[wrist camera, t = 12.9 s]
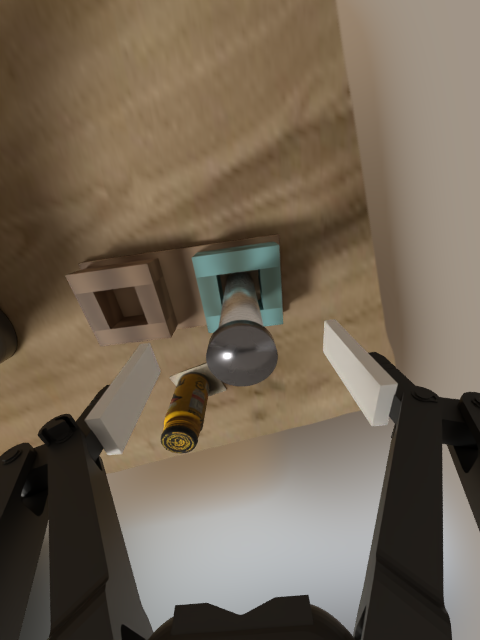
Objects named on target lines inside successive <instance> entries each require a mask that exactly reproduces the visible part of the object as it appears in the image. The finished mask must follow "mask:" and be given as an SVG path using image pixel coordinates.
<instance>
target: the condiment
mask: <svg viewBox="0 0 480 640" xmlns="http://www.w3.org/2000/svg"><path fill="white" fill-rule="evenodd" d="M202 373H205V374H202ZM169 378H170V379H171V380H172V382H173V383H174V384H175V385H176V386H177V387H176V389H175V392H174V394H173V398H172V400H171V403H170V406H169V409H168V412H167V414H166V416H165V420H164V431H163V433H162V436H161V443H162V445H163V446H164V448H166V450H169V451H171V452H174V453H187V452H190V451H192V450H193V449H194V448H195V447H196V444H197V442H198V437H199V433H200V431H201V430H202V428H203V423H204V417H205V411H206V405H207V399H208V396H211V395H214V394H216V393H220V392H223V391H226V389H225V387H224V385H223V383H222V382H221V381H220V380H219V379H217V378H216V377H215V376H214V375H213V374H212V373H211V371H210V370H209V368H208V365H207V363H206V364H203V365H201V366H198V367H195V368H192V369H190V370H187V371H184V372H181V373H179V374H176V375H174V376H171V377H169ZM209 389H210V390H209Z"/></svg>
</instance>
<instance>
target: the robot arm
mask: <svg viewBox="0 0 480 640" xmlns="http://www.w3.org/2000/svg"><path fill="white" fill-rule="evenodd" d="M16 347H17V338H16V333H15V331H14V328H13V326H12V324H11V323H10V321H9V320H8V318H7V317H6V316H5V315H4V313H3V312H2V311H1V310H0V363H2V362H4V361H5V360H7V359H8V358H10V357H11V356H12V355H13V354H14V352H15V350H16ZM323 352H324V354H325V355H326V357H327V358H328V360H329V361H330V363H331V364H332V366H333V368H334V369H335V371H336V372H337V374H338V375H339V377H340V378H341V380H342V381H343V383H344V384H345V386H346V387H347V389H348V391H349V392H350V394H351V395H352V397H353V398H354V400H355V401H356V403H357V404H358V406H359V407H360V409H361V410H362V412H363V413H364V415H365V417H366V418H367V420H368V421H369V423H370V424H371V426H381V425H387V424H388V420H389V417H390V418H391V419H392V420H393V422H394V423H395V425H394V429H393V432H392V436H391V438H392V440H391V445H390V450H389V456H388V461H387V466H386V472H385V477H384V482H383V487H382V492H381V498H380V503H379V509H378V514H377V519H376V525H375V529H374V535H373V540H372V545H371V551H370V556H369V561H368V566H367V571H366V577H365V582H364V587H363V591H362V596H361V600H360V604H359V609H358V614H357V619H356V624H355V629H354V634H353V636H352V635H351V634H350V632H349V631H348V630H347V629H346V628H345V627H344V626H343V625H342V624H341V623H340V622H339V621H338V620H337V619H335V618H334V617H333V616H332V615H330V614H329V613H328V612H326V611H324V610H323V609H321V608H319V607H317V606H314V605H311V604H310V601H309V596H308V595H300V596H287V597H276V598H273V599H271V600H269V601H268V602H266V603H264V604H262V605H260V606H258V607H257V608H255V609H253V610H251V611H249V612H247V613H245V614H243V615H238V614H235V613H233V612H230V611H227V610H225V609H222V608H219V607H217V606H214V605H211V604H209V603H200V604H188V605H176V606H175V611H174V617H172V618H170V619H169V620H167V621H166V622H165V623H163V624H162V625H161V626H160V627H159V628H158V629H157V630H156V631H155V632H154V633H153V630H152V627H151V624H150V622H149V619H148V617H147V615H146V613H145V611H144V609H143V607H142V605H141V601H140V598H139V594H138V590H137V587H136V583H135V579H134V576H133V572H132V568H131V565H130V561H129V557H128V554H127V550H126V546H125V542H124V539H123V535H122V532H121V528H120V524H119V520H118V517H117V513H116V510H115V506H114V502H113V498H112V495H111V491H110V487H109V484H108V480H107V476H106V473H105V469H104V465H103V462H102V459H101V457H100V456H99V455H100V453H101V452H102V450H103V449H104V450H105V451H106V453H107V454H108V455H114V454H122V452H123V450H124V448H125V446H126V444H127V442H128V440H129V438H130V436H131V433H132V431H133V429H134V427H135V425H136V423H137V421H138V419H139V417H140V414H141V412H142V410H143V408H144V406H145V404H146V402H147V400H148V398H149V395H150V393H151V391H152V389H153V387H154V385H155V383H156V381H157V379H158V376H159V374H160V372H161V371H160V368H159V365H158V363H157V360H156V358H155V355H154V352H153V350H152V347H151V344H150V343H146V344H140V345H139V347H138V348H137V349H136V351H135V352H134V353H133V355H132V356H131V357H130V359H129V360H128V361H127V363H126V364H125V366H124V367H123V368H122V370H121V371H120V372H119V374H118V375H117V376H116V378H115V379H114V381H113V382H112V383H111V385H106V386H105V387H104V388H103V389H102V390H100V391H99V392H98V394H97V395H96V396H95V397H94V400H92V401H91V403H90V404H89V406H87V408H86V409H85V410H84V412H83V413H82V414H81V416H80V417H79V418H78V419H77V421H76V422H75V420H74V419H73V417H72V416H71V415H70V414H63V415H60V416H57V417H55V418H53V419H52V420H50V421H49V422H47V423H46V424H45V425H44V426H43V427H42V428H41V429H40V431H39V433H38V436H39V437H40V439H41V440H42V441H43V442H44V443H45V444H44V445H41V446H38V447H36V448H33V447H32V446H31V445H30V444H29V443H22V444H19V445H16V446H14V447H12V448H11V449H9V450H8V451H6V452H5V453H3V454H2V455H1V456H0V640H18V639H19V635H20V631H21V627H22V623H23V619H24V615H25V611H26V607H27V603H28V599H29V595H30V591H31V587H32V583H33V579H34V575H35V571H36V567H37V563H38V559H39V555H40V551H41V547H42V543H43V539H44V535H45V532H46V528H47V523H48V520H49V552H50V553H49V558H50V610H51V630H50V635H49V638H48V639H47V640H452V634H451V623H450V618H449V615H448V613H447V611H446V609H445V606H444V597H443V496H442V494H443V492H442V444H447V446H448V449H449V451H450V454H451V457H452V459H453V462H454V465H455V467H456V470H457V473H458V475H459V478H460V481H461V483H462V486H463V488H464V491H465V494H466V496H467V499H468V502H469V504H470V507H471V510H472V512H473V515H474V518H475V520H476V522H477V525H478V528H479V531H480V393H477V392H467V393H464V394H463V395H462V396H461V398H460V400H458V399H450V398H442V397H439V396H438V395H437V394H435V393H434V392H432V391H431V390H429V389H426V388H423V387H419V386H415V385H414V384H413V383H412V382H411V381H410V380H409V379H407V378H406V376H404V375H403V374H402V373H401V372H400V371H399V370H398V369H396V367H395V366H394V365H393V364H391V362H390V361H388V360H387V359H386V358H385V357H384V356H382V355H380V354H378V353H377V352H371V353H367V352H366V350H365V349H364V348H363V347H362V346H361V345H360V344H359V343H358V342H357V341H356V340H355V339H354V338H353V337H352V336H351V335H350V334H349V333H348V332H347V331H346V330H345V329H344V328H343V327H342V326H341V325H340V324H339V323H338V322H337V321H336V320H335V319H333V320H325V322H324V342H323Z"/></svg>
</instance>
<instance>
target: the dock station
mask: <svg viewBox="0 0 480 640" xmlns="http://www.w3.org/2000/svg"><path fill="white" fill-rule="evenodd" d="M78 265H79V267H80V269H81V270H79V271H76V272H73V273H70V274H67V275H65V277H66V279H67V281H68V283H69V285H70V287H71V289H72V291H73V293H74V295H75V297H76V299H77V301H78V303H79V305H80V307H81V309H82V311H83V313H84V315H85V317H86V319H87V321H88V323H89V325H90V327H91V329H92V330H93V332H94V334H95V336H96V338H97V340H98V342H99V344H100V346H108V345H116V344H124V343H132V342H140V341H148V340H157V339H165V338H171V337H172V335H173V333H174V331H175V329H183V328H191V327H199V326H207V327H208V332H209V333H214V332H215V331H216V330H217V329H218V327H219V321H220V316H221V310H222V304H223V298H224V293H225V287H226V281H227V278H228V277H229V275H230V274H232V273H236V272H243V271H244V272H246V273H248V274H249V275H250V276H251V277H252V279H253V283H254V287H255V292H256V296H257V300H258V304H259V309H260V313H261V317H262V321H263V326H271V325H279V324H283V301H282V281H281V260H280V240H279V234H275V235H268V236H261V237H254V238H247V239H240V240H233V241H226V242H219V243H212V244H205V245H198V246H191V247H184V248H177V249H171V250H164V251H157V252H150V253H143V254H136V255H129V256H122V257H115V258H108V259H101V260H94V261H87V262H82V263H79V264H78Z"/></svg>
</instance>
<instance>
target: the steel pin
mask: <svg viewBox="0 0 480 640" xmlns="http://www.w3.org/2000/svg"><path fill="white" fill-rule="evenodd" d="M277 359H278V355H277V350H276V346H275V343H274V339H273V337H272V335H271V334H270V332H269V331H268V330H267V329H266V328H265V327H264V326H263V321H262V317H261V313H260V309H259V304H258V300H257V296H256V292H255V287H254V283H253V279H252V277H251V276H250V275H249V274H248V273H246V272H244V271H243V272H236V273H232V274H230V275H229V277H228V278H227V281H226V287H225V293H224V298H223V304H222V310H221V316H220V321H219V327H218V329H217V330H216V331H215V332H214V333H213V335H212V336H211V338H210V341H209V345H208V349H207V354H206V361H207V365H208V368H209V370H210V371H211V373H212V374H213V375H214V376H215V377H216V378H217V379H219V380H220V381H222V382H224V383H226V384H229V385H233V386H250V385H254V384H257V383H259V382H261V381H263V380H264V379H266V378H267V377H268V376H269V375H270V374H271V373H272V372H273V370H274V369H275V367H276V364H277Z"/></svg>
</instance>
